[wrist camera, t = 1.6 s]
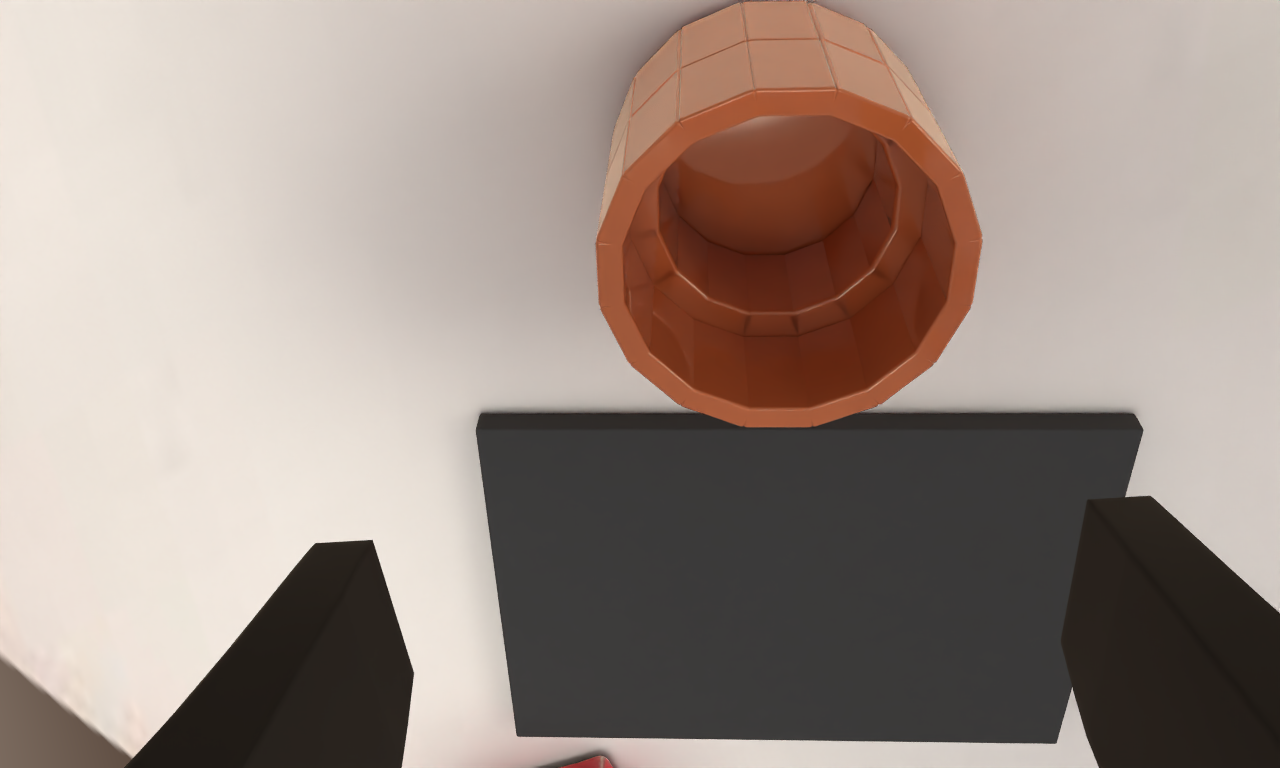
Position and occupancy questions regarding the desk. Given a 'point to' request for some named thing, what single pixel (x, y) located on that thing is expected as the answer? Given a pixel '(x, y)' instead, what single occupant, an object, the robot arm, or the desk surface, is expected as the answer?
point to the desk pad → (792, 572)
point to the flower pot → (782, 220)
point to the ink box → (591, 763)
